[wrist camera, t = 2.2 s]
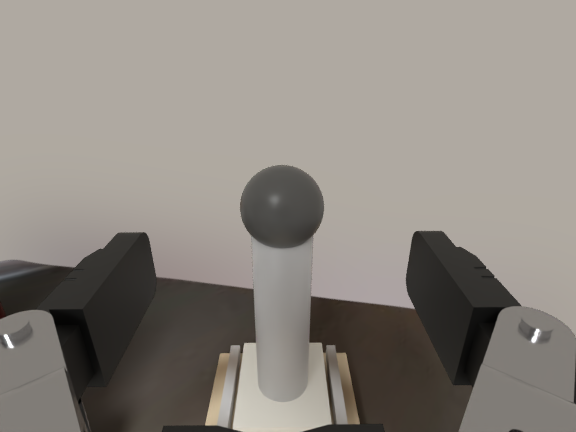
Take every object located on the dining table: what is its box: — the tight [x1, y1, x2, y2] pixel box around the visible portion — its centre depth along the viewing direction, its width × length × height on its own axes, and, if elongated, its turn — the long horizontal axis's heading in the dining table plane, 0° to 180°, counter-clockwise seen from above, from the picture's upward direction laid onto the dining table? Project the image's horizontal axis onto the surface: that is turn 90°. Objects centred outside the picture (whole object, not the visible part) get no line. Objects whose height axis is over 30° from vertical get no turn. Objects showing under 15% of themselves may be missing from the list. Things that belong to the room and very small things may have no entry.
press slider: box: [233, 165, 332, 432], centre depth 26 cm, size 8×7×20 cm
